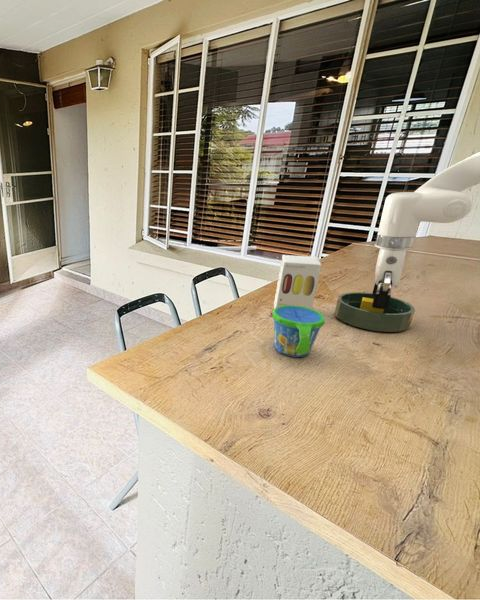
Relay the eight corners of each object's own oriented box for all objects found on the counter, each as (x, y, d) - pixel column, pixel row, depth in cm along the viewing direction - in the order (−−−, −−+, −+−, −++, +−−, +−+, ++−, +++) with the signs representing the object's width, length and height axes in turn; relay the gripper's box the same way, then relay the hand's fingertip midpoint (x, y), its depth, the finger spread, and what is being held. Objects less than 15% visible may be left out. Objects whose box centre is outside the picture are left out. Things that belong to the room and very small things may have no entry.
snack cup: (322, 371, 78) (332, 330, 74) (269, 363, 82) (276, 324, 78) (310, 339, 91) (318, 303, 87) (265, 334, 95) (270, 299, 91)
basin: (406, 316, 100) (412, 298, 98) (410, 339, 88) (417, 319, 86) (336, 305, 110) (340, 288, 108) (331, 324, 98) (335, 306, 96)
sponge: (380, 318, 99) (385, 300, 97) (380, 322, 96) (385, 304, 94) (358, 314, 102) (362, 297, 100) (357, 318, 99) (362, 300, 97)
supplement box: (274, 315, 106) (282, 261, 100) (272, 304, 113) (280, 254, 107) (311, 319, 102) (322, 264, 96) (307, 307, 109) (317, 255, 103)
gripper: (416, 250, 83) (398, 315, 89) (411, 236, 95) (395, 294, 101) (376, 247, 87) (361, 310, 93) (375, 234, 100) (362, 290, 106)
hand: (379, 302), depth 97 cm, fingers open, 9 cm apart
